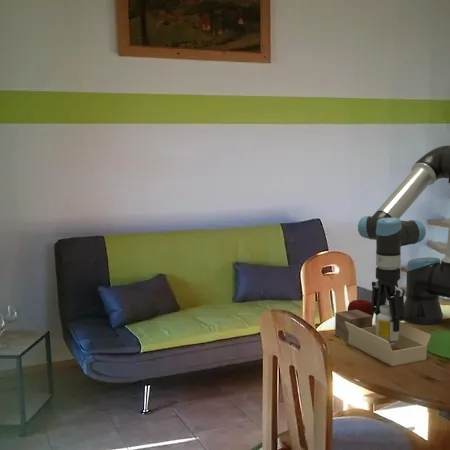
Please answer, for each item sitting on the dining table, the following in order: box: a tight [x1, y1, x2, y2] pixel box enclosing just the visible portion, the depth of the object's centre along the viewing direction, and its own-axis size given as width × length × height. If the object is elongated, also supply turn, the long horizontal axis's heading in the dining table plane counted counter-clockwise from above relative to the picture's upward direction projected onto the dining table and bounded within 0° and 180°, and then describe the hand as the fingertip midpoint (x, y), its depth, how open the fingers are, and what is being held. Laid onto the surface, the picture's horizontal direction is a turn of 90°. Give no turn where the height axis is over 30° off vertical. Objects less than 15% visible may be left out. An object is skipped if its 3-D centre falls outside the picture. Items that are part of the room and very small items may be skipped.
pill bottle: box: [377, 304, 397, 345], centre depth 204 cm, size 6×6×12 cm
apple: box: [346, 299, 375, 317], centre depth 230 cm, size 10×10×10 cm
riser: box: [334, 310, 374, 342], centre depth 219 cm, size 9×9×8 cm
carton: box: [345, 321, 432, 367], centre depth 204 cm, size 16×23×8 cm
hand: (386, 337), depth 205 cm, fingers closed on pill bottle, 6 cm apart
